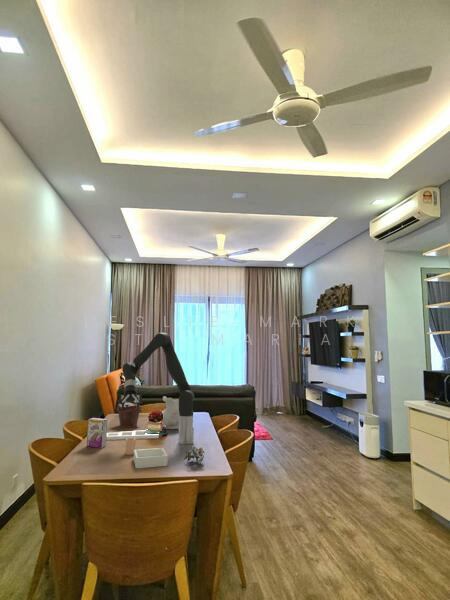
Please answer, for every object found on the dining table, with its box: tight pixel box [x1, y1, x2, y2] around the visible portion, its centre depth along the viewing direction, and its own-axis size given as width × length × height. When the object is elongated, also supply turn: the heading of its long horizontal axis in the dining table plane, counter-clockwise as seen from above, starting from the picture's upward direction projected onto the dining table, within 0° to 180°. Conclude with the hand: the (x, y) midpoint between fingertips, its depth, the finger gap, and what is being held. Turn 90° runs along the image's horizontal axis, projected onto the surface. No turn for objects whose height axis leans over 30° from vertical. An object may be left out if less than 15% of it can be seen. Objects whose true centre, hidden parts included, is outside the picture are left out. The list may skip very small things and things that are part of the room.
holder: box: [106, 429, 160, 441], centre depth 253 cm, size 45×18×3 cm, turn 102°
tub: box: [125, 438, 137, 456], centre depth 213 cm, size 5×5×8 cm
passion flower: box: [183, 444, 205, 466], centre depth 195 cm, size 11×11×12 cm
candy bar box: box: [86, 417, 108, 449], centre depth 227 cm, size 11×5×16 cm, turn 71°
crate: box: [133, 447, 169, 469], centre depth 196 cm, size 16×16×5 cm
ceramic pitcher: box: [161, 395, 179, 430], centre depth 285 cm, size 22×20×25 cm
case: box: [116, 401, 143, 428], centre depth 289 cm, size 18×20×18 cm
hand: (130, 408), depth 229 cm, fingers open, 8 cm apart
